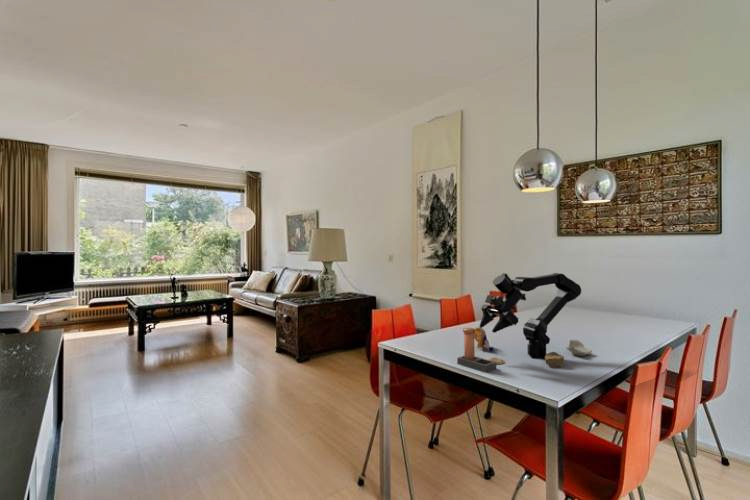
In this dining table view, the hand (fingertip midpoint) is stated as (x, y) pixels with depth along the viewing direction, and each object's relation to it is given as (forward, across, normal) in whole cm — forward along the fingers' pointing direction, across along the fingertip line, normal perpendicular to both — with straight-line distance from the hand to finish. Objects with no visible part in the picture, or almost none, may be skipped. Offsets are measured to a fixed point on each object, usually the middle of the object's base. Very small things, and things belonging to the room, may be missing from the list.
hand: (486, 329), depth 149 cm
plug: (+15, 0, +4) cm, 16 cm away
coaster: (+7, 0, +12) cm, 14 cm away
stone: (-8, +8, +27) cm, 30 cm away
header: (+14, +3, +5) cm, 15 cm away
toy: (+3, -18, +16) cm, 24 cm away
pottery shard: (-21, +3, +40) cm, 46 cm away
